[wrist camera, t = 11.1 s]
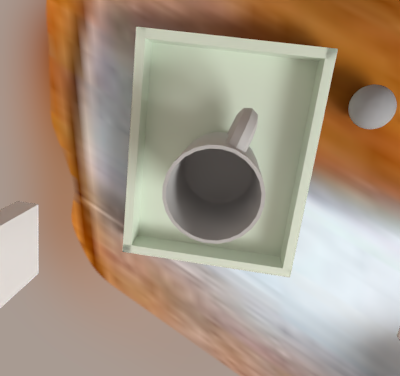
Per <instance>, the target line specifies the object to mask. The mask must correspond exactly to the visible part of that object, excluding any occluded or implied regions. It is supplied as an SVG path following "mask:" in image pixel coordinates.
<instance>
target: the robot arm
mask: <svg viewBox="0 0 400 376" xmlns="http://www.w3.org/2000/svg"><path fill="white" fill-rule="evenodd" d="M38 268H39V267H38V204H33V203H27V202H20V201H17V202H15V203H13V204H11V205H9V206H7V207H5V208H3V209H1V210H0V308H1V307H2V306H3V305H4V304H5V303H6V302H8V301H9V300H10V299H11V298H12V297H13V296H14V295H15V294H16V293H17V292H19V291H20V290H21V289H22V288H23V287H24V286H25V285H26V284H27V283H28V282H30V281H31V280H32V279H33V278H34V277H35V276H36V275H37V274H38V272H39V270H38ZM397 337H398V338H399V340H400V328H399V331H398V334H397Z"/></svg>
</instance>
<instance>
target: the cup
mask: <svg viewBox="0 0 400 376" xmlns="http://www.w3.org/2000/svg"><path fill="white" fill-rule="evenodd" d="M257 123H258V114H257V113H256V112H255V111H254V110H253V109H252V108H243V109H242V110H241V111H240V112H239V113H238V114H237V115H236V117H235V119H234V121H233V123H232V125H231V127H230V129H229V131H228V133H227V132H212V133H208V134H205V135H203V136H201V137H199V138H197V139H195V140H194V141H193V142H192V143H191V144H190V145H189V146H188V147H187V148H186V149H185V150H184V151H183V152H182V153H181V155H180V156H179V157H178V158H177V159H176V160H175V161H174V162H173V164H172V165H171V167H170V169H169V170H168V172H167V173H166V176H165V180H164V183H163V191H162V200H163V203H164V207H165V211H166V213H167V215H168V217H169V218H170V220H171V222H172V223H173V224H174V225H175V226H176V227H177V228H178V230H179V231H180V232H182V233H183V234H185V235H186V236H188V237H190V238H191V239H194V240H197V241H200V242H203V243H212V244H220V243H226V242H230V241H233V240H235V239H237V238H240V237H242V236H243V235H244V234H246V233H247V232H248V231H249V230H251V229H252V228H253V226H254V225H255V224H256V222H257V221H258V220H259V218H260V216H261V213H262V211H263V208H264V204H265V188H264V182H263V178H262V175H261V172H260V169H259V165H258V162H257V159H256V157H255V155H254V153H253V151H252V149H251V148H250V147H249V145H250V143H251V141H252V139H253V136H254V134H255V131H256V128H257Z"/></svg>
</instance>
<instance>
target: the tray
mask: <svg viewBox="0 0 400 376" xmlns="http://www.w3.org/2000/svg"><path fill="white" fill-rule="evenodd" d="M337 51H338V49H335V48H326V47H317V46H308V45H299V44H290V43H281V42H272V41H262V40H253V39H244V38H235V37H226V36H217V35H208V34H199V33H190V32H181V31H172V30H163V29H154V28H145V27H136V38H135V55H134V71H133V88H132V104H131V121H130V138H129V154H128V171H127V187H126V204H125V220H124V237H123V252H128V253H134V254H141V255H147V256H154V257H160V258H167V259H173V260H180V261H187V262H193V263H200V264H206V265H213V266H219V267H226V268H232V269H239V270H245V271H252V272H258V273H265V274H271V275H278V276H284V277H290V275H291V270H292V265H293V260H294V256H295V251H296V246H297V241H298V237H299V232H300V227H301V222H302V218H303V213H304V208H305V203H306V199H307V194H308V189H309V184H310V179H311V175H312V170H313V165H314V160H315V156H316V151H317V146H318V141H319V137H320V132H321V127H322V122H323V118H324V113H325V108H326V103H327V99H328V94H329V89H330V84H331V80H332V75H333V70H334V65H335V60H336V56H337ZM243 108H252V109H253V110H254V111H255V112H256V113H257V114H258V123H257V128H256V131H255V134H254V136H253V139H252V141H251V143H250V145H249V147H250V148H251V149H252V151H253V153H254V155H255V157H256V159H257V162H258V165H259V169H260V172H261V175H262V178H263V182H264V188H265V204H264V208H263V211H262V213H261V216H260V218H259V220H258V221H257V222H256V224H255V225H254V226H253V228H252V229H251V230H249V231H248V232H247V233H246V234H244V235H243V236H242V237H240V238H237V239H235V240H233V241H230V242H226V243H220V244H212V243H203V242H200V241H197V240H194V239H191V238H190V237H188V236H186V235H185V234H183V233H182V232H180V231H179V230H178V228H177V227H176V226H175V225H174V224H173V223H172V222H171V220H170V218H169V217H168V215H167V213H166V211H165V207H164V203H163V200H162V191H163V183H164V180H165V176H166V173H167V172H168V170H169V169H170V167H171V165H172V164H173V162H174V161H175V160H176V159H177V158H178V157H179V156H180V155H181V153H182V152H183V151H184V150H185V149H186V148H187V147H188V146H189V145H190V144H191V143H192V142H193V141H194V140H195V139H197V138H199V137H201V136H203V135H205V134H208V133H212V132H227V133H228V131H229V129H230V127H231V125H232V123H233V121H234V119H235V117H236V115H237V114H238V113H239V112H240V111H241V110H242V109H243Z"/></svg>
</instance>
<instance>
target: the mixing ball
mask: <svg viewBox="0 0 400 376" xmlns="http://www.w3.org/2000/svg"><path fill="white" fill-rule="evenodd" d="M396 107H397V102H396V98H395V96H394V94H393V93H392V91H391V90H389V89H388V88H386V87H384V86H382V85H368V86H365V87H363V88H361V89H359V90H358V91H357V92H356V93H355V94H354V95H353V96H352V98H351V100H350V102H349V107H348V111H349V116H350V118H351V120H352V121H353V122H354V123H355V124H356V125H357V126H359V127H361V128H365V129H376V128H379V127H382V126H384V125H385V124H387V123H388V122H389V121H390V120H391V119H392V117H393V116H394V114H395V112H396Z"/></svg>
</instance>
